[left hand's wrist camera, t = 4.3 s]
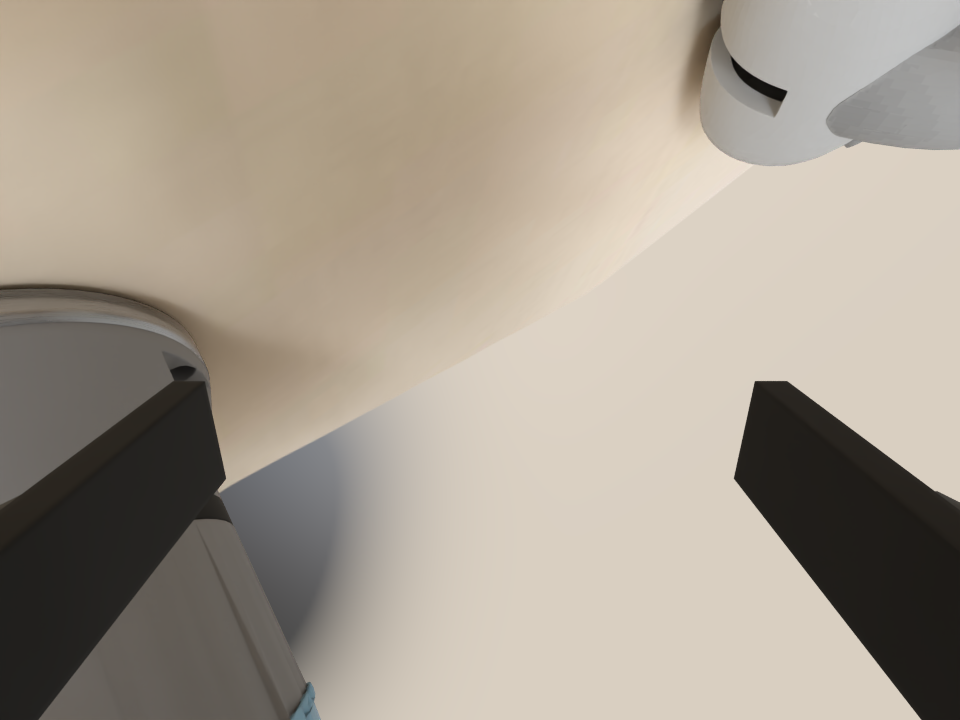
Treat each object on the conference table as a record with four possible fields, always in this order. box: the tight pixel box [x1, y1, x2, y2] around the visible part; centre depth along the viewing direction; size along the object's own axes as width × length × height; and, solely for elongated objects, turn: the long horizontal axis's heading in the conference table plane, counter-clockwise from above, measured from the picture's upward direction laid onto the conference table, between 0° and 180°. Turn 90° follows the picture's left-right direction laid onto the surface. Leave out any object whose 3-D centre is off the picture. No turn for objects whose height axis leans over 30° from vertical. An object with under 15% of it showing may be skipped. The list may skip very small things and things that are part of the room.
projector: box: [700, 0, 960, 166], centre depth 27 cm, size 22×23×15 cm
